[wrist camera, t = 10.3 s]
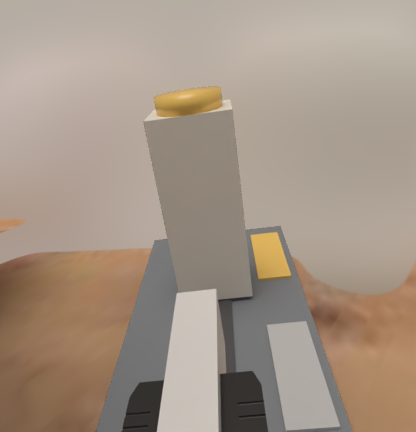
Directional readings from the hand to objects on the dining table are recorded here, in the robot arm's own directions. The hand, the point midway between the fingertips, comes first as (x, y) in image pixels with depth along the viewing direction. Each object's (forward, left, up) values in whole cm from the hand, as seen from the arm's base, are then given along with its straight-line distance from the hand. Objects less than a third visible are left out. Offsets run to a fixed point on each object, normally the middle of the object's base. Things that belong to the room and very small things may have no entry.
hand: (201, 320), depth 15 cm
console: (-8, +5, -9) cm, 13 cm away
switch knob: (-10, +7, -6) cm, 13 cm away
